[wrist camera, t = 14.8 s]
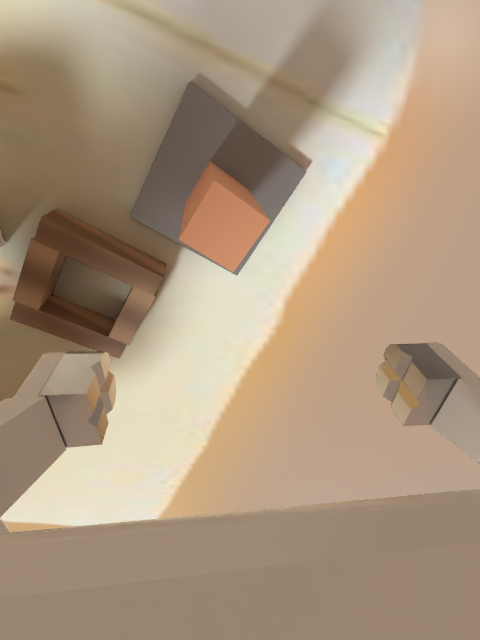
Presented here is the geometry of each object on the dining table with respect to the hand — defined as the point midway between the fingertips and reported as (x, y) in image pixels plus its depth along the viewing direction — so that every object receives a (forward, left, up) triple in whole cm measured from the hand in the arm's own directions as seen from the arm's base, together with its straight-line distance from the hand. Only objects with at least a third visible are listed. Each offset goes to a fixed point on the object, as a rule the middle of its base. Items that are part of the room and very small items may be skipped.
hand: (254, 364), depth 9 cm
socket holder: (-16, +7, -27) cm, 32 cm away
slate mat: (0, 0, -27) cm, 27 cm away
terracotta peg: (0, 0, -26) cm, 26 cm away
